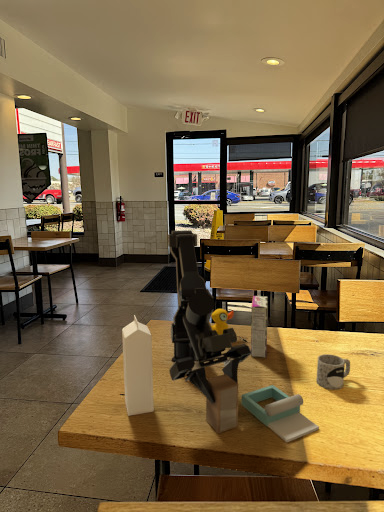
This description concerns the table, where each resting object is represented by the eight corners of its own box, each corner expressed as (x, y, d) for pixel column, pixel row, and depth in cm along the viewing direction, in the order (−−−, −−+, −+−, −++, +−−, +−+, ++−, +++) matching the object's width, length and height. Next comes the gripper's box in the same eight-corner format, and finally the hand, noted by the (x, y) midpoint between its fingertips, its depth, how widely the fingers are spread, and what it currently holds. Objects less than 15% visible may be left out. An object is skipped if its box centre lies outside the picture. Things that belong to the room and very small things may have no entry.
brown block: (206, 420, 82) (206, 379, 80) (225, 414, 84) (225, 373, 83) (218, 433, 78) (218, 390, 76) (237, 426, 80) (238, 384, 78)
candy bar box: (251, 342, 124) (252, 295, 121) (266, 343, 123) (268, 296, 120) (249, 357, 113) (251, 305, 110) (266, 358, 112) (268, 306, 109)
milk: (128, 416, 84) (123, 324, 80) (125, 401, 90) (120, 315, 86) (154, 411, 86) (151, 321, 82) (149, 397, 91) (146, 312, 87)
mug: (329, 392, 93) (330, 367, 92) (311, 380, 99) (312, 357, 98) (358, 383, 97) (360, 360, 96) (339, 372, 103) (340, 350, 102)
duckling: (230, 332, 133) (230, 305, 131) (236, 337, 128) (236, 310, 126) (200, 335, 130) (200, 308, 128) (205, 341, 125) (205, 313, 123)
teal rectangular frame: (241, 404, 88) (241, 385, 87) (272, 394, 93) (273, 376, 92) (285, 443, 75) (286, 421, 74) (319, 428, 79) (321, 408, 78)
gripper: (174, 324, 76) (200, 399, 69) (247, 310, 85) (278, 375, 77) (160, 346, 84) (182, 415, 77) (228, 331, 93) (254, 392, 85)
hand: (225, 399), depth 79 cm, fingers open, 6 cm apart
